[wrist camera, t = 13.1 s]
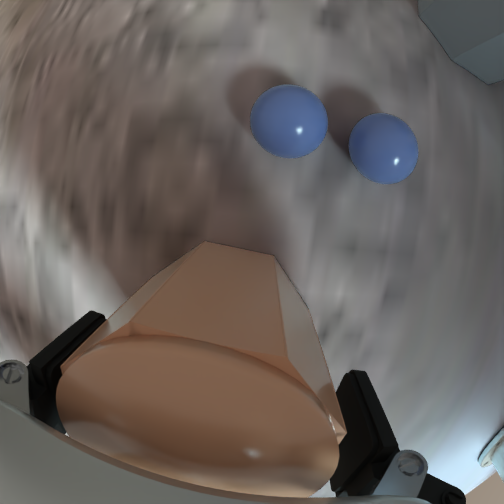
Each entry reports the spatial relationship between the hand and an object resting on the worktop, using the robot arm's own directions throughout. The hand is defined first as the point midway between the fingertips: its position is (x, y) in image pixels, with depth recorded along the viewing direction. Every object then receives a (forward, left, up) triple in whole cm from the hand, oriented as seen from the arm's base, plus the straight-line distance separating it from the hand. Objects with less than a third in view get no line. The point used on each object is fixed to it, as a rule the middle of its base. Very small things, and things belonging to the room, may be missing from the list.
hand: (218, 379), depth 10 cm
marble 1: (-1, -10, -3) cm, 10 cm away
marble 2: (-5, -10, -3) cm, 11 cm away
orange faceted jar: (0, 0, -4) cm, 4 cm away
